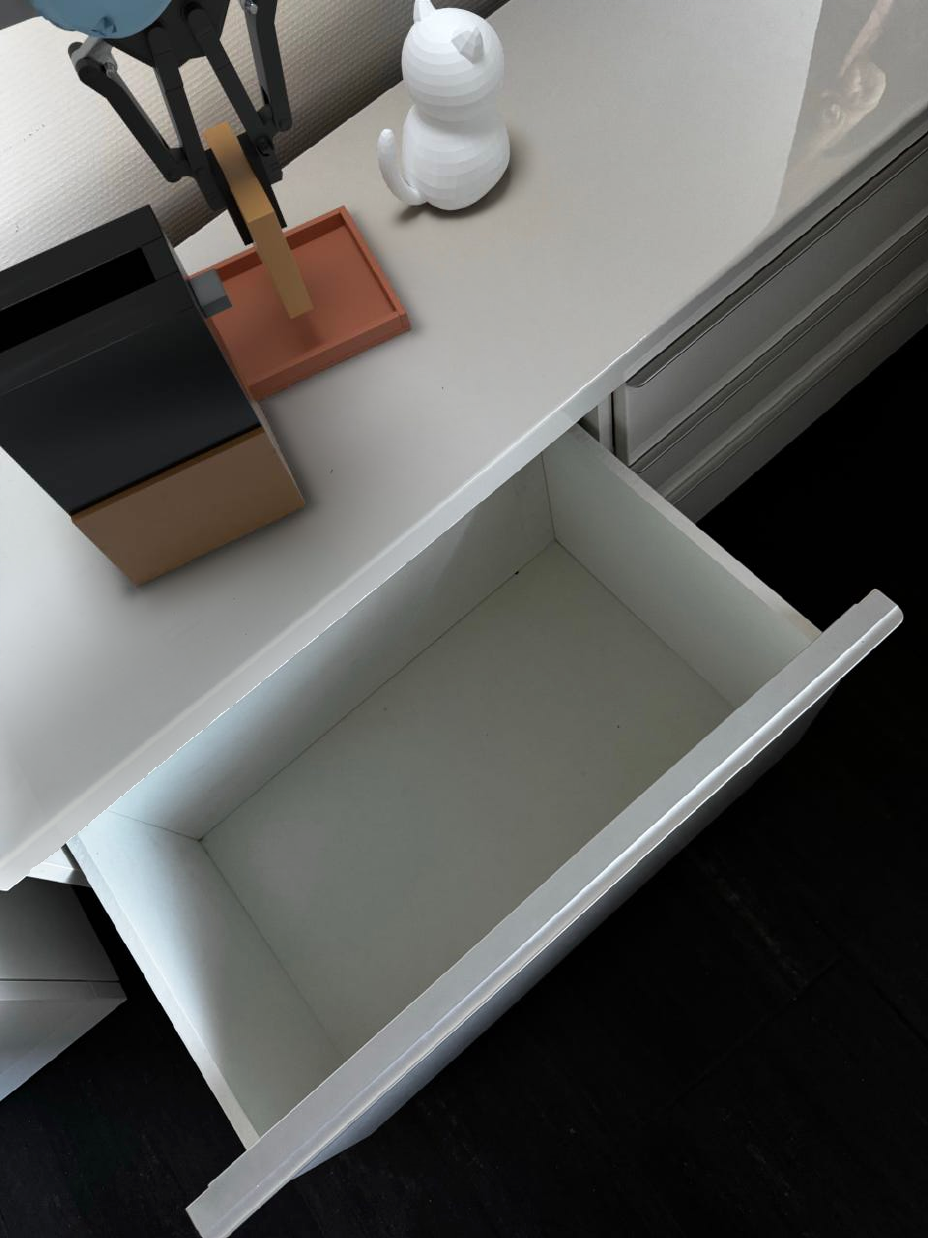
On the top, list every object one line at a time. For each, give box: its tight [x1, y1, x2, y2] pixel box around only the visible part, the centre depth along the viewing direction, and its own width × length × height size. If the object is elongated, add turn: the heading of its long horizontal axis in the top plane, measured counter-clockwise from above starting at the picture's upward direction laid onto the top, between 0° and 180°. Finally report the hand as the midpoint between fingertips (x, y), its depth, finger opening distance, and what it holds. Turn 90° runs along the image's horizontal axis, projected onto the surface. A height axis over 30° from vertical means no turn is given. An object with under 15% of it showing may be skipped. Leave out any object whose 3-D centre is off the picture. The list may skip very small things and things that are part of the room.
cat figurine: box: [376, 0, 511, 211], centre depth 82 cm, size 9×12×15 cm
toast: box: [201, 120, 314, 319], centre depth 76 cm, size 10×2×10 cm, turn 25°
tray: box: [188, 204, 412, 402], centre depth 84 cm, size 15×13×2 cm
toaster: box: [0, 203, 307, 587], centre depth 69 cm, size 16×10×22 cm, turn 115°
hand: (260, 223), depth 76 cm, fingers closed on toast, 2 cm apart
